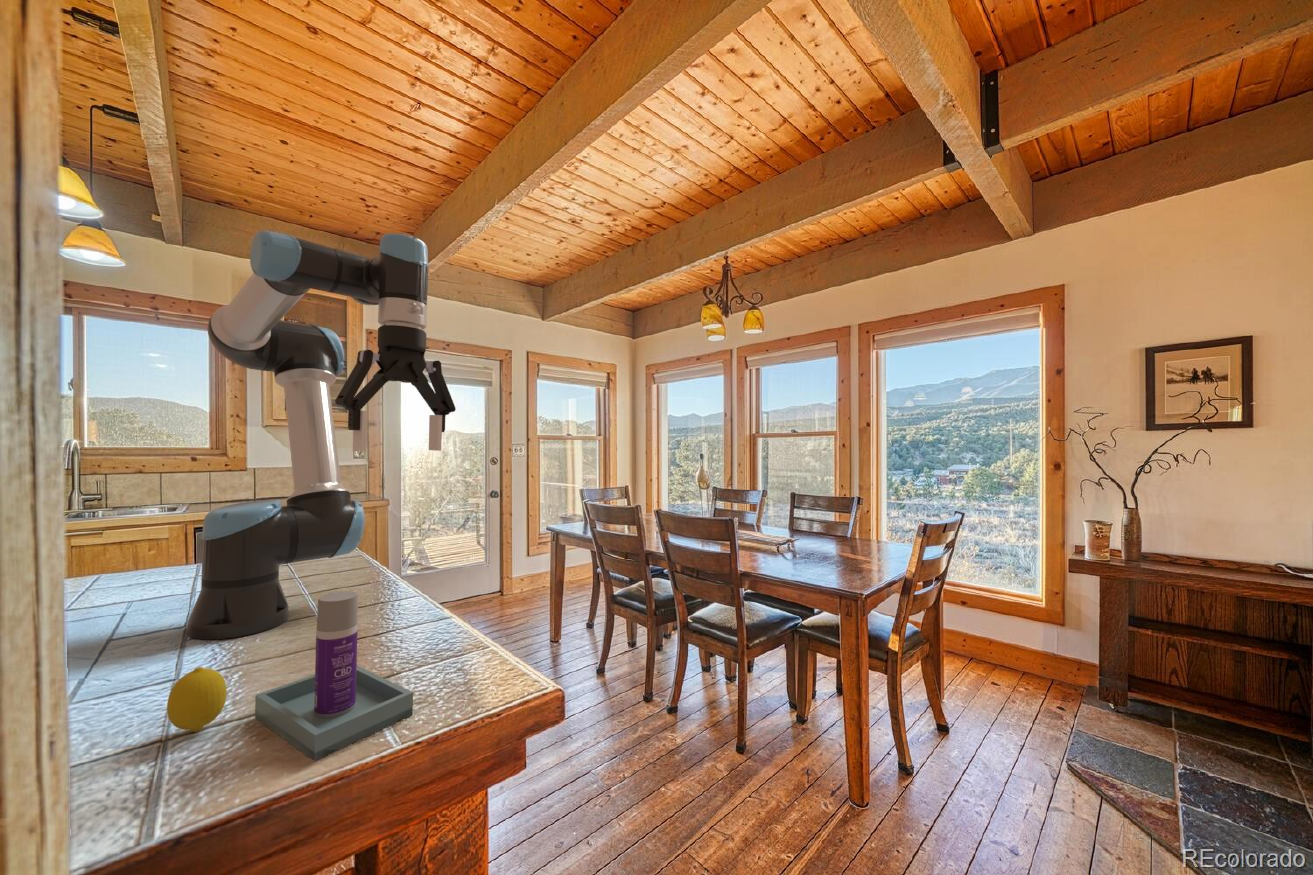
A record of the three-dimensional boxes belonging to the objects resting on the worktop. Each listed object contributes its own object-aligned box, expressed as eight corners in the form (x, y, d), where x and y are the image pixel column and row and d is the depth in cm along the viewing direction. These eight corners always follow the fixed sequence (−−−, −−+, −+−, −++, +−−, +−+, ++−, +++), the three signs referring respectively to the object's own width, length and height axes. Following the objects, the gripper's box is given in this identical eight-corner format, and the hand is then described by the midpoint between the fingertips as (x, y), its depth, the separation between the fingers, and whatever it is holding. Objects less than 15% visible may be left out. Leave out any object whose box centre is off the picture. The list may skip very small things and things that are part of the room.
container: (336, 720, 65) (339, 603, 65) (305, 715, 66) (308, 599, 66) (363, 702, 70) (366, 592, 70) (334, 697, 71) (337, 589, 71)
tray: (254, 717, 67) (255, 694, 67) (349, 681, 77) (350, 662, 77) (314, 761, 59) (315, 735, 59) (412, 714, 69) (413, 692, 69)
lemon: (191, 719, 66) (192, 658, 66) (236, 718, 67) (238, 657, 67) (153, 745, 61) (154, 678, 61) (202, 744, 61) (204, 677, 61)
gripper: (337, 309, 76) (333, 452, 76) (476, 339, 97) (473, 450, 97) (312, 314, 80) (309, 450, 80) (451, 342, 101) (449, 449, 101)
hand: (399, 451), depth 89 cm, fingers open, 13 cm apart
